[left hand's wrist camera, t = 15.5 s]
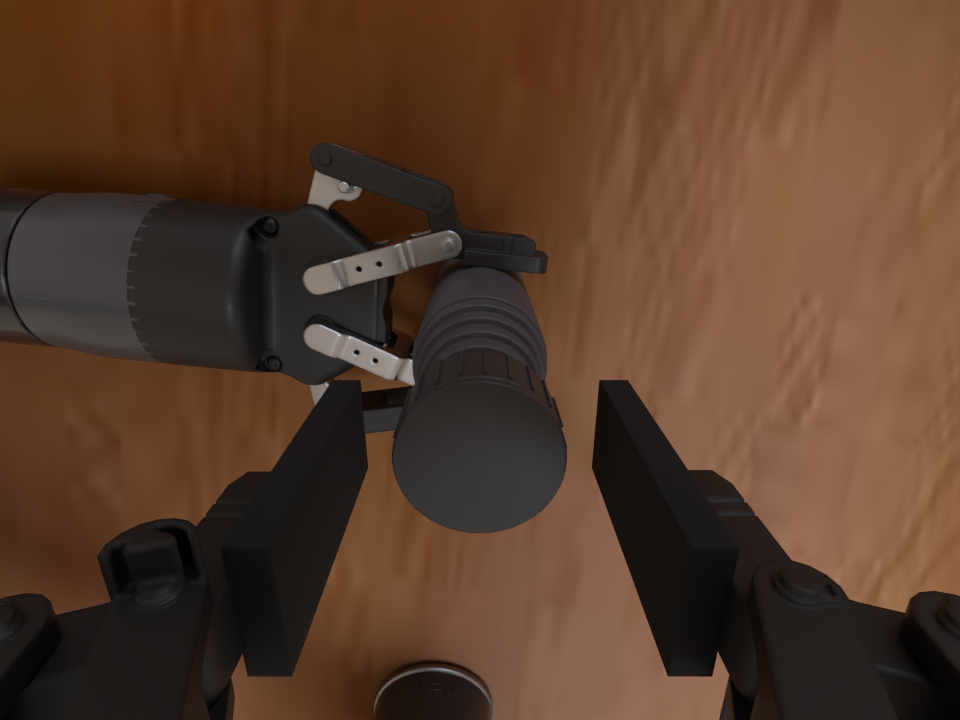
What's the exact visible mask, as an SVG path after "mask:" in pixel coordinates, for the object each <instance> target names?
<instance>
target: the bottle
mask: <svg viewBox="0 0 960 720" xmlns="http://www.w3.org/2000/svg"><path fill="white" fill-rule="evenodd" d="M484 350H487V352H494V353H499V354H503V355H507V354H508V355H510V357H511V358H514V359H516V360H518V361H520V362H521V363H523V364H525V365H527V364H528V365H529V366H530V369H531V370H533V371H534V372H535V373H536V374H537V375H538V376H539V377H540V378H541V380H543V379H544V380H545V379H546V373H547V351H546V345H545V341H544V338H543V335H542V332H541V329H540V327H539V324H538V321H537V318H536V316H535V313H534V310H533V307H532V304H531V302H530V299H529V296H528V293H527V290H526V288H525V285H524V282H523V279H522V276H521V274H520V272H518V271H508V270H499V269H490V268H482V267H471V266H463V260H459V259H448V260H446V261H445V262H444V264H443V265H442V267H441V269H440V272H439V275H438V278H437V281H436V283H435V286H434V289H433V292H432V294H431V297H430V300H429V303H428V306H427V308H426V311H425V314H424V317H423V320H422V322H421V325H420V328H419V331H418V333H417V336H416V339H415V342H414V347H413V355H412V361H413V364H412V369H413V378H414V382H415V383H416V381H417V380H418V379H419V378H420V375H421V373H422V372H426V371H427V370H428V369H429V368H430V367H432V366H433V365H435V364H436V363H438V361H439V360H440V359H442V360H443V359H445V358H448V357H450V356H453V355H456V354H460V352H464V353H465V352H474V351H484Z"/></svg>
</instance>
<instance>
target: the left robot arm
mask: <svg viewBox="0 0 960 720" xmlns="http://www.w3.org/2000/svg"><path fill="white" fill-rule="evenodd" d="M367 469H368V461H367V450H366V438H365V427H364V415H363V404H362V392H361V381H360V380H332V381H331V383H330V384H329V386H328V387H327V389H326V390H325V392H324V393H323V395H322V396H321V398H320V399H319V401H318V402H317V404H316V405H315V407H314V408H313V410H312V411H311V413H310V414H309V416H308V417H307V419H306V420H305V422H304V423H303V425H302V426H301V428H300V429H299V431H298V432H297V434H296V435H295V437H294V438H293V440H292V441H291V443H290V444H289V446H288V447H287V449H286V450H285V452H284V453H283V454H282V456H281V457H280V459H279V460H278V462H277V463H276V465H275V466H274V468H273V469H272V471H271V472H247V473H246V474H244V475H243V476H241V477H240V478H238V479H237V480H236V481H234V482H233V483H231V484H230V485H228V487H227V488H226V489H225V490H224V492H223V493H222V494H221V496H220V497H219V498H218V499H217V501H216V504H214V505H213V506H212V507H211V509H210V510H209V511H208V512H207V514H206V518H203V519H202V520H201V521H200V523H199V524H198V525H197V527H195V526H194V525H193V524H192V523H191V522H189V521H187V520H182V519H177V518H171V519H158V520H154V521H151V522H147V523H144V524H140V525H138V526H135V527H133V528H131V529H129V530H127V531H125V532H123V533H121V534H119V535H118V536H117V537H115V538H114V539H113V540H111V541H110V542H109V543H107V544H106V545H105V546H104V548H103V549H102V550H101V552H100V553H99V554H98V555H97V558H98V561H99V565H100V568H101V571H102V574H103V577H104V580H105V583H106V586H107V590H108V593H109V596H110V599H111V601H110V602H108V603H105V604H102V605H98V606H93V607H89V608H85V609H80V610H76V611H72V612H67V613H63V614H58V615H55V612H54V609H53V607H52V604H51V601H50V600H48V599H47V598H46V597H44V596H43V595H41V594H30V593H25V594H19V595H14V596H8V597H5V598H2V599H0V720H233V710H234V700H235V696H234V689H233V683H232V679H231V676H232V674H233V672H234V670H235V668H236V665H237V663H238V661H239V659H240V657H241V655H242V653H243V656H244V661H245V666H246V670H247V675H248V676H292V675H293V672H294V670H295V667H296V664H297V661H298V659H299V656H300V653H301V650H302V648H303V645H304V642H305V639H306V637H307V634H308V631H309V628H310V626H311V623H312V620H313V617H314V615H315V612H316V609H317V606H318V604H319V601H320V598H321V595H322V593H323V590H324V587H325V584H326V582H327V579H328V576H329V573H330V571H331V568H332V565H333V562H334V560H335V557H336V554H337V552H338V549H339V546H340V543H341V541H342V538H343V535H344V532H345V530H346V527H347V524H348V521H349V519H350V516H351V513H352V510H353V508H354V505H355V502H356V499H357V497H358V494H359V491H360V488H361V486H362V483H363V480H364V477H365V475H366V472H367ZM592 469H593V472H594V475H595V477H596V480H597V483H598V486H599V488H600V491H601V494H602V497H603V499H604V502H605V505H606V508H607V510H608V513H609V516H610V519H611V521H612V524H613V527H614V530H615V532H616V535H617V538H618V541H619V543H620V546H621V549H622V552H623V554H624V557H625V560H626V563H627V565H628V568H629V571H630V574H631V576H632V579H633V582H634V584H635V587H636V590H637V593H638V595H639V598H640V601H641V604H642V606H643V609H644V612H645V615H646V617H647V620H648V623H649V626H650V628H651V631H652V634H653V637H654V639H655V642H656V645H657V648H658V650H659V653H660V656H661V659H662V661H663V664H664V667H665V670H666V672H667V675H668V676H712V675H713V670H714V666H715V661H716V656H717V652H719V655H720V657H721V659H722V661H723V663H724V665H725V667H726V669H727V671H728V673H729V679H728V683H727V688H726V692H725V696H724V701H723V705H722V709H721V714H720V719H719V720H960V596H957V595H954V594H949V593H943V592H937V591H928V592H919V593H918V594H916V595H915V596H913V597H912V598H911V599H910V601H909V604H908V607H907V609H906V612H905V613H903V612H898V611H894V610H890V609H885V608H881V607H877V606H872V605H868V604H864V603H859V602H856V601H853V600H849V598H848V597H847V595H846V594H845V592H844V591H843V589H842V588H841V587H840V586H839V585H838V584H837V583H836V582H834V581H833V580H832V579H831V578H830V577H828V576H827V575H826V574H824V573H822V572H820V571H818V570H816V569H814V568H813V567H811V566H808V565H805V564H802V563H799V562H796V561H792V560H791V559H790V558H789V556H788V555H787V554H786V552H785V551H784V550H783V549H782V547H781V546H780V545H779V543H778V542H777V541H776V540H775V538H774V537H773V536H772V535H771V533H770V532H769V531H768V529H767V528H766V527H765V526H764V524H763V523H762V522H761V520H760V519H759V518H758V517H757V516H755V514H754V511H753V510H752V509H751V508H750V506H749V505H748V504H747V503H745V502H744V499H743V497H742V496H741V495H740V493H739V492H738V491H737V490H736V488H735V487H734V486H733V484H732V483H730V482H729V481H727V480H726V479H724V478H723V477H721V476H720V475H718V474H717V473H715V472H714V471H712V470H688V469H687V468H686V466H685V465H684V463H683V462H682V460H681V459H680V457H679V456H678V455H677V453H676V452H675V450H674V449H673V447H672V446H671V444H670V443H669V441H668V440H667V438H666V437H665V435H664V434H663V432H662V431H661V429H660V428H659V426H658V425H657V423H656V422H655V420H654V419H653V417H652V416H651V414H650V413H649V411H648V410H647V408H646V407H645V405H644V404H643V402H642V401H641V399H640V398H639V396H638V395H637V393H636V392H635V390H634V389H633V387H632V386H631V384H630V383H629V381H628V380H600V381H599V392H598V404H597V415H596V427H595V438H594V450H593V461H592Z"/></svg>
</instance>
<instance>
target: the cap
mask: <svg viewBox="0 0 960 720" xmlns="http://www.w3.org/2000/svg"><path fill="white" fill-rule="evenodd" d="M561 427H563V424H562V421H561V418H560V415H559V411H558V408H557V405H556V402H555V399H554V397H553V398H552V397H551V394H550V393H549V391H548V389H547V386H546V383H545V380H544V379H543V380H541V378H540V377H539V376H538V375H537V374H536V373H535V372H534V371H533V370H531V369H530V366H529V365H528V364H527V365H525V364H523V363H521V362H520V361H518V360H516V359H514V358H511V357H510V355H508V354H507V355H503V354H499V353H494V352H487V350H484V351H474V352H465V353H464V352H460V354H456V355H453V356H450V357H448V358H445V359H443V360H442V359H440V360H439V361H438V363H436V364H435V365H433V366H432V367H430V368H429V369H428V370H427V371H426V372H422V373H421V375H420V378H419V379H418V380H417V381H416V383H415V384H414V386H413V387H412V389H410V388H409V390H408V393H407V396H406V399H405V403H404V406H403V408H402V410H401V413H400V416H399V420H398V423H397V426H396V429H395V432H394V436H393V438H395V440H394V444H393V452H392V463H393V469H394V474H395V477H396V480H397V483H398V485H399V487H400V489H401V491H402V493H403V494H404V496H405V497H406V498H407V500H408V501H409V502H410V503H411V504H412V506H413V507H414V508H415V509H417V510H418V511H419V512H420V513H421V514H422V515H424V516H425V517H427V518H428V519H430V520H431V521H433V522H435V523H437V524H439V525H442V526H444V527H447V528H450V529H453V530H457V531H462V532H469V533H490V532H497V531H502V530H506V529H509V528H512V527H515V526H517V525H520V524H522V523H524V522H526V521H527V520H529V519H531V518H533V517H534V516H535V515H537V514H538V513H539V512H541V511H542V510H543V509H544V508H545V507H546V506H547V505H548V504H549V502H550V501H551V500H552V499H553V497H554V496H555V494H556V493H557V491H558V489H559V488H560V485H561V483H562V481H563V478H564V474H565V470H566V463H567V449H566V448H567V445H566V441H565V438H564V435H563V432H562V428H561Z"/></svg>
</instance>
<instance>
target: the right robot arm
mask: <svg viewBox="0 0 960 720" xmlns="http://www.w3.org/2000/svg"><path fill="white" fill-rule="evenodd" d="M310 159H311V163H312V166H313V167H314V169H315V173H314V178H313V182H312V186H311V191H310V195H309V199H308V203H307V204H303V205H300V206H297V207H295V208H293V209H291V210H274V209H265V208H256V207H247V206H238V205H229V204H219V203H210V202H201V201H192V200H183V199H173V198H172V197H169V196H165V195H160V194H151V193H148V194H144V195H137V194H127V193H112V192H97V193H65V192H56V191H47V190H38V189H29V188H19V187H10V186H0V342H9V343H19V344H29V345H40V346H50V347H60V348H67V349H73V350H78V351H82V352H86V353H90V354H94V355H99V356H104V357H110V358H117V359H127V360H137V361H148V362H158V363H167V364H177V365H187V366H199V367H209V368H219V369H229V370H239V371H249V372H280V373H284V374H287V375H289V376H291V377H293V378H295V379H297V380H298V381H300V382H302V383H304V384H307V385H309V386H310V389H311V393H312V397H313V400H314V404H315V405H316V404H317V402H318V401H319V399H320V398H321V396H322V395H323V393H324V392H325V390H326V389H327V387H328V386H329V384H330V383H331V381H332V380H334V378H335V377H337V376H338V375H340V374H342V373H344V372H346V371H347V370H349V369H351V368H353V367H355V366H358V367H361V368H363V369H365V370H367V371H370V372H372V373H374V374H376V375H379V376H381V377H383V378H385V379H388V380H393V381H394V380H401V381H403V382H405V383H408V384H410V385H412V386H409V387H400V388H392V389H384V390H376V391H368V392H362V404H363V415H364V427H365V434H366V433H374V432H383V431H391V430H395V429H396V426H397V423H398V420H399V416H400V413H401V410H402V408H403V406H404V403H405V399H406V396H407V393H408V390H409V388H410V389H412V387H413V386H414V384H415V382H414V378H413V369H412V364H413V361H412V355H413V347H414V342H415V341H414V339H413V338H412V337H411V336H409V335H408V334H406V333H403V332H401V331H399V330H397V329H395V328H393V327H392V320H393V314H392V309H391V305H390V300H389V299H390V295H391V292H392V289H393V286H394V281H395V275H396V274H400V273H404V272H407V271H409V270H412V269H414V268H417V267H420V266H424V265H428V264H432V263H436V262H440V261H444V260H448V259H459V260H463V266H471V267H482V268H490V269H499V270H508V271H518V272H527V273H537V274H544V273H546V267H547V260H548V257H547V255H546V254H545V252H542V251H538V250H536V243H535V242H534V240H532V239H530V238H528V237H527V236H525V235H523V234H513V233H504V232H495V231H486V230H476V229H470V228H467V227H466V226H464V225H463V224H462V223H461V222H460V220H459V218H458V215H457V211H456V207H455V203H454V194H453V191H452V189H451V188H450V187H449V186H448V185H447V184H445V183H442V182H439V181H437V180H434V179H431V178H429V177H426V176H423V175H421V174H418V173H415V172H413V171H410V170H407V169H405V168H402V167H399V166H397V165H394V164H391V163H389V162H386V161H383V160H381V159H378V158H375V157H373V156H370V155H367V154H365V153H362V152H359V151H357V150H354V149H351V148H349V147H346V146H343V145H337V144H330V143H320V144H318V145H316V146H315V147H314V148H313V149H312V151H311V155H310ZM365 190H367V191H370V192H373V193H375V194H378V195H381V196H384V197H386V198H389V199H392V200H395V201H397V202H400V203H403V204H405V205H408V206H411V207H414V208H416V209H419V210H422V211H425V212H426V214H427V218H428V222H429V225H430V229H429V230H425V231H421V232H417V233H411V234H405V235H401V236H397V237H394V238H390V239H386V240H382V241H378V242H374V243H373V242H372V241H371V240H370V239H369V238H367V237H366V236H365V235H364V234H363V233H362V232H360V231H359V230H358V229H357V228H356V227H355V226H353V225H352V224H351V223H350V222H349V221H348V220H346V219H345V218H344V217H343V216H342V215H341V214H339V213H338V212H337V211H336V210H335V209H334V206H335V204H336V203H337V202H338V201H339V200H346V201H352V200H355V199H358V198H360V197H362V196H363V194H364V193H365ZM387 339H388V340H387ZM375 358H376V359H375ZM492 714H493V710H492V698H491V695H490V693H489V691H488V689H487V688H486V686H485V685H484V684H483V683H482V682H481V681H480V680H479V679H478V678H477V677H476V676H474V675H473V674H471V673H469V672H468V671H466V670H463V669H461V668H458V667H455V666H451V665H447V664H439V663H425V664H418V665H413V666H409V667H406V668H404V669H401V670H399V671H397V672H395V673H394V674H392V675H391V676H390V677H388V678H387V679H386V680H385V681H384V682H383V684H382V685H381V686H380V688H379V690H378V692H377V695H376V700H375V705H374V717H373V720H492Z"/></svg>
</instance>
